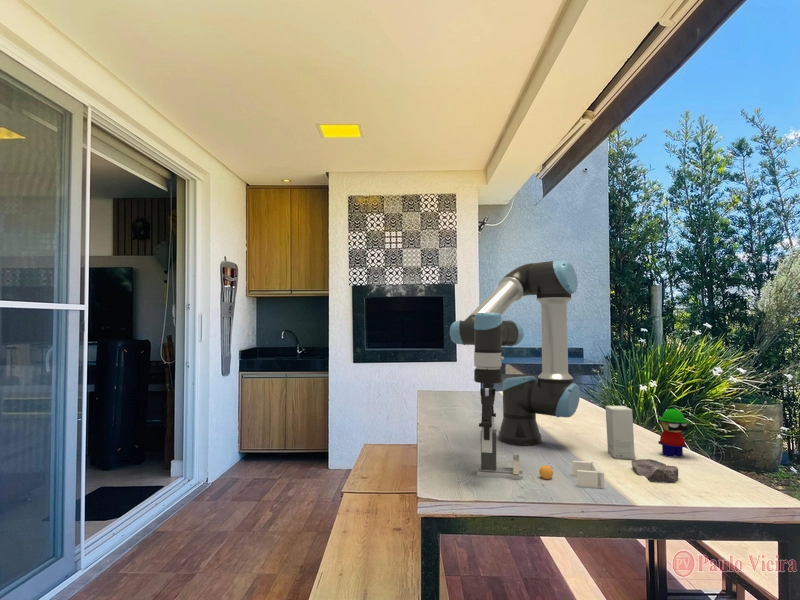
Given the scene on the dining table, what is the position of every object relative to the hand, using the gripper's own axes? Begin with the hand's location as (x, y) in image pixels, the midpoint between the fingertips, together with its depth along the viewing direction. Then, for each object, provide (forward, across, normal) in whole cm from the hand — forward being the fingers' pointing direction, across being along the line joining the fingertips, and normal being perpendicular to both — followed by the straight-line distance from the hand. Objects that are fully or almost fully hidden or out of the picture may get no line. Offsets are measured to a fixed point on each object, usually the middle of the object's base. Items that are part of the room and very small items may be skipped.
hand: (488, 446), depth 125 cm
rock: (+9, +12, -44) cm, 47 cm away
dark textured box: (+7, 0, -3) cm, 8 cm away
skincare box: (+8, +33, -40) cm, 53 cm away
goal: (+8, 0, -26) cm, 27 cm away
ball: (+6, 0, -15) cm, 16 cm away
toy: (+8, +37, -58) cm, 69 cm away
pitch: (+9, 0, -12) cm, 15 cm away
